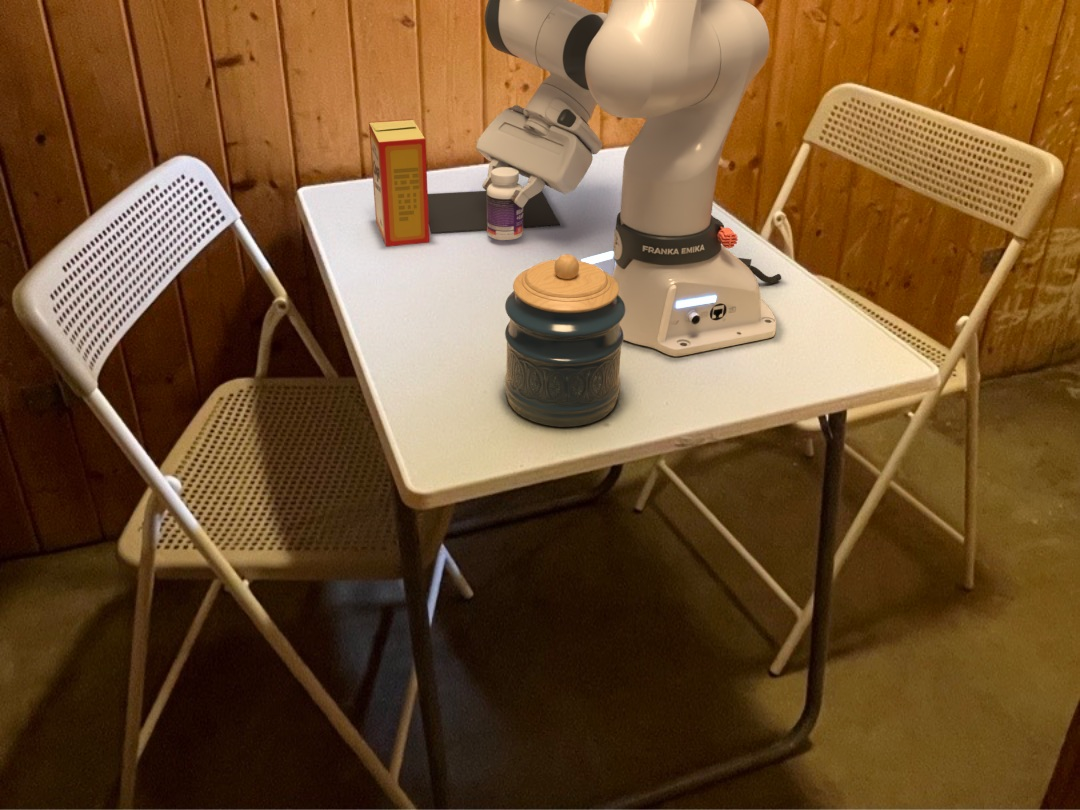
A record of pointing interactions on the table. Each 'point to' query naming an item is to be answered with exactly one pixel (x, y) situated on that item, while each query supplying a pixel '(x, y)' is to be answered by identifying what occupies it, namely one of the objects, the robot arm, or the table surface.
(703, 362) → the table surface
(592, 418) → the canister
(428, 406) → the table surface
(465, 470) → the table surface
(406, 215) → the baking soda box
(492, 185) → the pill bottle
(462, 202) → the rubber mat
